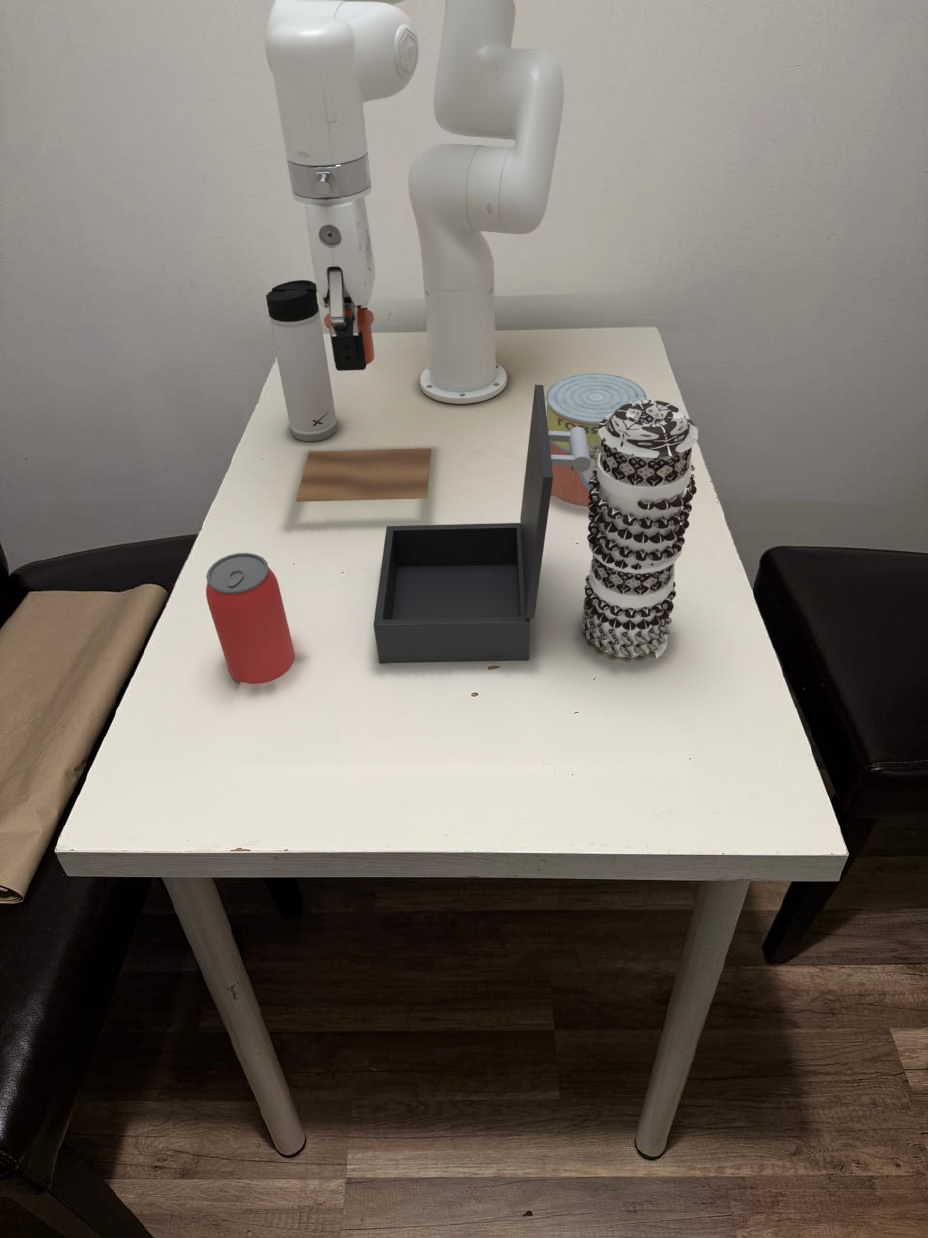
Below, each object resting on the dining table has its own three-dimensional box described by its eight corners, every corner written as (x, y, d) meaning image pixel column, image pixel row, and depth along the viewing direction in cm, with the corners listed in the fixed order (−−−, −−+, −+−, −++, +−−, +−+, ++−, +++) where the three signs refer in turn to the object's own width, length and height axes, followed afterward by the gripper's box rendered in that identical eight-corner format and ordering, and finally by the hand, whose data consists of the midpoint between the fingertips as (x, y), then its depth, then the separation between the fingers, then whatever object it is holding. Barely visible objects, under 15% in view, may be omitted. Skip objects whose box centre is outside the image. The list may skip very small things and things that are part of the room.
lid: (543, 476, 72) (600, 479, 72) (534, 384, 84) (583, 386, 84) (525, 618, 82) (575, 620, 82) (520, 518, 94) (563, 520, 94)
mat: (309, 454, 117) (308, 451, 117) (430, 450, 116) (430, 447, 116) (289, 526, 105) (289, 523, 105) (425, 523, 105) (424, 520, 104)
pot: (333, 348, 98) (327, 307, 95) (380, 346, 98) (375, 306, 95) (327, 370, 95) (321, 329, 91) (376, 368, 94) (371, 327, 91)
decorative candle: (680, 618, 91) (717, 395, 74) (659, 680, 85) (695, 452, 68) (593, 598, 94) (610, 379, 77) (567, 656, 87) (579, 432, 70)
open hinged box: (379, 668, 87) (373, 625, 83) (391, 568, 99) (386, 525, 95) (529, 666, 87) (529, 622, 83) (523, 565, 98) (524, 522, 94)
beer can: (219, 686, 86) (189, 592, 78) (241, 639, 91) (214, 546, 83) (285, 691, 85) (261, 597, 77) (303, 644, 90) (282, 550, 82)
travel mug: (331, 444, 119) (308, 296, 105) (284, 440, 120) (255, 294, 106) (345, 420, 123) (324, 275, 110) (300, 417, 124) (274, 273, 111)
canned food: (558, 518, 104) (561, 427, 96) (534, 467, 112) (535, 380, 104) (650, 504, 106) (661, 413, 98) (619, 454, 114) (627, 367, 106)
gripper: (361, 204, 78) (382, 393, 90) (377, 148, 90) (394, 321, 102) (275, 207, 78) (309, 396, 90) (303, 151, 90) (329, 323, 103)
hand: (354, 354), depth 96 cm, fingers closed on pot, 5 cm apart
